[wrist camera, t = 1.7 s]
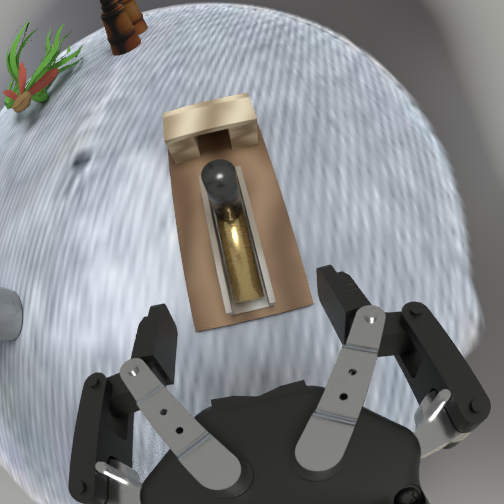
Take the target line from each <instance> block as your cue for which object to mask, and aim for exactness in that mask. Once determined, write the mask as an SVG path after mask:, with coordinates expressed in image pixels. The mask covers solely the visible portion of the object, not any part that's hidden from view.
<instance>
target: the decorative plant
mask: <svg viewBox="0 0 504 504" xmlns="http://www.w3.org/2000/svg"><path fill="white" fill-rule="evenodd" d="M26 25H27V27H26V30H25V34H26V31H27V28H28V25H29V22H28V23H27V24H26ZM26 25H25V26H26ZM63 25H64V24H63ZM63 25H62V26H61V28H60V29H59V30H58V32H57V34H56V37H55V41H54V45H52V46H51V50H50V42H49V41H50V39H49V34H48V36H47V44H46V56H45V58H44V59H43V60H42V63H41V65H40V66H39V68H38V69H37V70H36V71H35V73H34V75H33V76H32V78H31V79H30V80H29V81H30V82H29V81H28V82H29V83H28V82H27V83H28V85H27V87H26V89H25V86H26V84H27V83H26V69H25V67H24V65H23V63H22V62H21V64H20V66H19V55H20V52H21V50H22V48H23V47H24V46H25V45H24V44H25V42H26V41H27V40H28V39H29V37H30V36H31V35H32V34H33V33H34V32H35V31H36V30H35V31H34V32H32V33H31V34H30V35H29V36H28V37H27V38H26V39H25V40H24V42H23V41H22V44H21V46H20V48H19V51H18V53H17V55H16V57H15V53H16V47H17V44H18V41H19V40H20V39H19V38H20V36H21V34H22V32H23V30H24V28H25V26H24V27H23V29H22V30H21V32H20V33H19V35H18V36H17V38H16V39H15V41H14V43H13V46H12V48H11V51H10V53H9V56H8V52H7V59H6V61H7V68H8V71H9V73H10V75H11V76H12V79H14V80H15V81H16V82H17V84H15V85H16V86H15V88H14V89H13V91H11V88H12V84H13V82H14V80H13V82H12V80H11V82H10V85H9V89H8V90H6V91H4V92H3V93H4V94H5V95H6V99H5V105H6V107H7V109H10V108H12V109H14V111H15V112H16V113H19V112H21V111H23V110H25V109H26V108H28V107H29V105H30V103H31V99H32V100H34V101H37V102H43V101H46V100H47V98H48V93H47V92H46V91H45V90H46V89H47V87H48V86H49V85H50V83H51V82H52V81H53V79H54V78H55V77H56V76H57V74H58V73H59V72H61V71H64V70H66V69H68V68H70V67H72V66H73V65H75V64H77V63H78V62H79V61H80V60H81V59H83V58H81V59H80V60H78V61H77V62H75V63H73V64H71V65H68V66H65V67H63V68H61V69H59V70H58V69H57V68H58V67H60V66H62V65H63V64H65V63H67V62H68V61H69V60H71V59H72V58H74V57H77V55H78V54H79V53H80V50H81V48H82V46H81V47H80V48H79V49H78V51H76V52H75V53H73V54H72V55H70V56H69V57H67V58H66V57H65V58H60V60H61V59H62V60H61V61H59V62H57V63H55V60H56V58H57V56H58V55H59V53H60V50H59V51H58V46H59V44H60V43H59V35H60V31H61V29H62V27H63ZM69 34H70V33H69ZM67 36H68V35H67ZM67 36H65V37H64V38H66V37H67ZM24 37H25V35H24ZM64 38H63V40H64ZM23 39H24V38H23ZM63 40H62V41H63ZM26 44H27V43H26ZM61 44H62V43H61ZM60 48H61V47H60ZM49 50H50V52H49ZM67 51H68V52H67V53H69V52H70V47H69V46H68V50H67ZM48 52H49V53H48ZM64 56H65V55H64ZM64 56H63V57H64ZM51 58H52V59H51ZM50 59H51V60H50ZM49 61H50V62H49ZM57 61H58V60H57ZM48 62H49V63H48ZM53 62H54V63H53ZM47 63H48V64H47ZM52 63H53V65H52ZM46 64H47V65H46ZM45 65H46V66H45ZM44 66H45V67H44ZM49 66H50V67H49ZM41 70H42V71H41ZM40 71H41V72H40ZM39 72H40V73H39ZM36 81H37V82H36ZM11 83H12V84H11ZM47 85H48V86H47ZM46 86H47V87H46ZM18 88H19V90H18ZM44 89H45V90H44ZM17 90H18V92H17ZM43 91H44V93H43ZM16 92H17V93H16ZM19 92H20V93H19ZM33 94H34V95H33ZM35 94H36V95H35ZM43 96H44V97H43ZM9 98H10V99H9ZM12 99H13V100H12ZM9 101H10V102H9ZM8 102H9V103H8Z"/></svg>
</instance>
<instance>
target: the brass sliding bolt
mask: <svg viewBox="0 0 504 504" xmlns="http://www.w3.org/2000/svg"><path fill="white" fill-rule="evenodd" d="M201 179H202V182H203V184H204V187H205V189H206V192H207V194H208V197H209V199H210V202H211V204H212V207H213V209H214V212H215V214H216V219H217V224H218V229H219V234H220V239H221V243H222V248H223V253H224V257H225V262H226V266H227V271H228V276H229V280H230V285H231V289H232V293H233V298H234V302H235V304H239V303H245V302H250V301H254V300H258V299H261V298H263V297H264V293H263V289H262V285H261V281H260V277H259V273H258V269H257V265H256V261H255V257H254V253H253V249H252V245H251V241H250V237H249V233H248V229H247V225H246V221H245V217H244V212H243V208H242V204H241V200H240V194H239V189H238V183H237V177H236V171H235V167H234V165H233V164H232V163H231V162H229V161H227V160H224V159H216V160H213V161H210V162H209V163H207V164H206V165H205V166H204V168H203V169H202V172H201Z"/></svg>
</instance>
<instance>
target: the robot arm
mask: <svg viewBox="0 0 504 504" xmlns="http://www.w3.org/2000/svg"><path fill="white" fill-rule="evenodd" d="M316 272H317V287H318V296H319V300H320V302H321V304H322V306H323V308H324V310H325V312H326V314H327V316H328V317H329V319H330V321H331V323H332V325H333V327H334V329H335V331H336V333H337V335H338V337H339V339H340V341H341V343H342V345H343V346H342V348H341V351H340V354H339V356H338V359H337V361H336V364H335V367H334V369H333V372H332V374H331V376H330V379H329V381H328V384H327V386H326V388H324V387H319V386H306V384H305V381H304V380H302V381H298V382H294V383H290V384H287V385H283V386H280V387H278V388H276V389H274V390H272V391H269V392H267V393H265V394H263V395H261V396H231V397H225V398H219V399H212V400H211V403H212V406H211V407H208V408H207V409H205V410H203V411H201V412H200V413H199V414H197V415H196V416H195V417H194V418H193V417H192V416H191V415H190V413H189V412H188V411H187V410H186V409H185V408H184V407H183V406H182V405H181V404H180V403H179V402H178V401H177V400H176V398H175V397H174V396H173V395H172V394H171V393H170V392H169V391H168V389H167V388H166V385H171V384H174V375H175V360H176V348H177V336H178V333H177V328H176V325H175V323H174V321H173V319H172V317H171V315H170V313H169V311H168V308H167V306H166V305H165V304H159V305H154V306H151V307H150V310H149V314H148V316H147V317H144V318H143V319H142V321H141V322H140V324H139V326H138V330H137V334H136V339H135V343H134V347H133V351H132V356H131V359H130V360H128V361H126V362H125V363H124V364H123V365H122V367H121V369H120V373H118V374H115V375H113V376H110V377H108V378H106V376H105V375H104V374H102V373H94V374H92V375H90V376H89V377H88V378H87V379H86V381H85V383H84V386H83V391H82V395H81V400H80V405H79V410H78V415H77V420H76V426H75V432H74V439H73V446H72V453H71V462H70V473H69V492H70V494H71V496H72V497H73V498H74V499H75V500H76V501H78V502H80V503H83V504H430V503H429V501H428V500H427V498H426V496H425V494H424V492H423V491H422V488H421V485H420V481H419V465H420V459H422V458H424V457H426V456H428V455H430V454H432V453H434V452H436V451H438V450H439V449H441V448H443V449H450V448H452V447H454V446H456V445H457V444H458V443H459V442H461V441H462V440H463V439H464V438H465V437H466V436H468V435H469V434H470V433H471V432H472V431H473V430H474V429H475V428H476V427H477V426H479V425H480V424H481V423H482V422H483V421H484V420H485V419H486V418H487V417H488V415H489V413H490V409H491V404H490V400H489V398H488V397H487V395H486V393H485V391H484V389H483V388H482V386H481V384H480V383H479V381H478V380H477V378H476V376H475V375H474V373H473V371H472V370H471V369H470V367H469V365H468V364H467V362H466V361H465V359H464V358H463V356H462V355H461V353H460V352H459V350H458V349H457V347H456V346H455V344H454V343H453V341H452V340H451V339H450V337H449V336H448V334H447V333H446V332H445V330H444V329H443V328H442V326H441V325H440V323H439V322H438V321H437V319H436V318H435V317H434V316H433V314H432V313H431V312H430V310H429V309H428V308H427V307H426V306H425V305H424V304H422V303H420V302H409V303H407V304H405V305H404V306H403V308H402V312H390V313H387V312H384V311H383V310H382V309H381V308H380V307H377V306H374V305H371V304H370V302H369V301H368V299H367V298H366V297H365V295H364V294H363V293H362V291H361V290H360V288H358V286H357V284H356V283H355V282H354V280H353V279H352V278H351V276H350V275H348V274H346V273H344V272H343V271H342V272H338V273H337V272H336V271H335V269H334V268H333V267H332V265H327V266H323V267H319V268H317V270H316ZM21 326H22V307H21V302H20V300H19V297H18V295H17V294H16V293H15V292H14V291H12V290H9V289H5V288H2V287H0V340H7V341H13V340H15V339H16V338H17V337H18V335H19V333H20V330H21ZM392 355H394V356H395V358H396V360H397V362H398V364H399V366H400V367H401V369H402V371H403V373H404V375H405V377H406V379H407V381H408V383H409V385H410V387H411V389H412V391H413V393H414V395H415V397H416V399H417V401H418V403H419V407H418V409H417V410H416V412H415V416H414V420H415V424H416V430H415V432H414V433H413V432H412V431H411V430H409V429H408V428H406V427H404V426H402V425H400V424H398V423H395V422H393V421H391V420H389V419H387V418H385V417H383V416H381V415H379V414H377V413H375V412H373V411H371V410H369V409H367V408H365V407H363V404H364V401H365V398H366V395H367V392H368V388H369V385H370V382H371V378H372V375H373V371H374V367H375V364H376V360H377V357H381V356H392ZM139 410H141V411H142V413H143V414H144V416H145V417H146V418H147V420H148V421H149V422H150V424H151V425H152V426H153V428H154V429H155V430H156V432H157V433H158V434H159V435H160V437H161V438H162V439H163V441H164V442H165V443H166V444H167V445H168V447H169V448H170V449H169V451H168V452H167V453H166V454H165V456H164V457H163V458H162V459H161V461H160V462H159V463H158V464H157V466H156V467H155V468H154V469H153V471H152V472H151V473H150V474H149V476H148V477H147V478H146V479H145V481H144V482H143V484H141V482H140V477H139V475H138V473H137V472H136V471H135V470H134V469H132V447H133V422H134V412H136V411H139Z"/></svg>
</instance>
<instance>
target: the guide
mask: <svg viewBox="0 0 504 504" xmlns="http://www.w3.org/2000/svg"><path fill="white" fill-rule="evenodd" d="M163 126H164V141H165V143H166V145H167V147H168V156H169V167H170V176H171V186H172V194H173V202H174V210H175V218H176V225H177V232H178V238H179V245H180V251H181V257H182V263H183V269H184V275H185V280H186V286H187V291H188V296H189V302H190V307H191V311H192V316H193V321H194V326H195V330H196V332H198V331H203V330H208V329H213V328H218V327H223V326H227V325H232V324H236V323H241V322H245V321H249V320H254V319H258V318H262V317H266V316H270V315H274V314H278V313H282V312H286V311H290V310H294V309H298V308H301V307H305V306H309V305H312V304H313V300H312V296H311V293H310V289H309V285H308V282H307V278H306V274H305V271H304V267H303V264H302V260H301V257H300V253H299V250H298V246H297V243H296V240H295V236H294V233H293V229H292V226H291V223H290V220H289V216H288V213H287V210H286V207H285V203H284V200H283V197H282V194H281V191H280V188H279V185H278V182H277V179H276V175H275V172H274V169H273V166H272V163H271V160H270V158H269V155H268V152H267V149H266V146H265V143H264V140H263V137H262V134H261V132H260V129H259V126H258V123H257V117H256V115H255V112H254V109H253V106H252V104H251V101H250V98H249V96H248V93H244V94H238V95H233V96H228V97H223V98H219V99H214V100H210V101H206V102H201V103H197V104H194V105H190V106H186V107H182V108H179V109H175V110H172V111H168V112H165V113H163ZM216 159H224V160H227V161H229V162H231V163H232V164H233V165H234V167H235V171H236V177H237V183H238V189H239V194H240V200H241V204H242V208H243V212H244V217H245V221H246V225H247V229H248V233H249V237H250V241H251V245H252V249H253V253H254V257H255V261H256V265H257V269H258V273H259V277H260V281H261V285H262V289H263V293H264V297H263V298H261V299H258V300H254V301H250V302H245V303H239V304H235V302H234V298H233V293H232V289H231V285H230V280H229V276H228V271H227V266H226V262H225V257H224V253H223V248H222V243H221V239H220V234H219V229H218V224H217V219H216V214H215V212H214V209H213V207H212V204H211V202H210V199H209V197H208V194H207V192H206V189H205V187H204V184H203V182H202V179H201V172H202V169H203V168H204V166H205V165H206V164H207V163H209V162H210V161H213V160H216Z"/></svg>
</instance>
